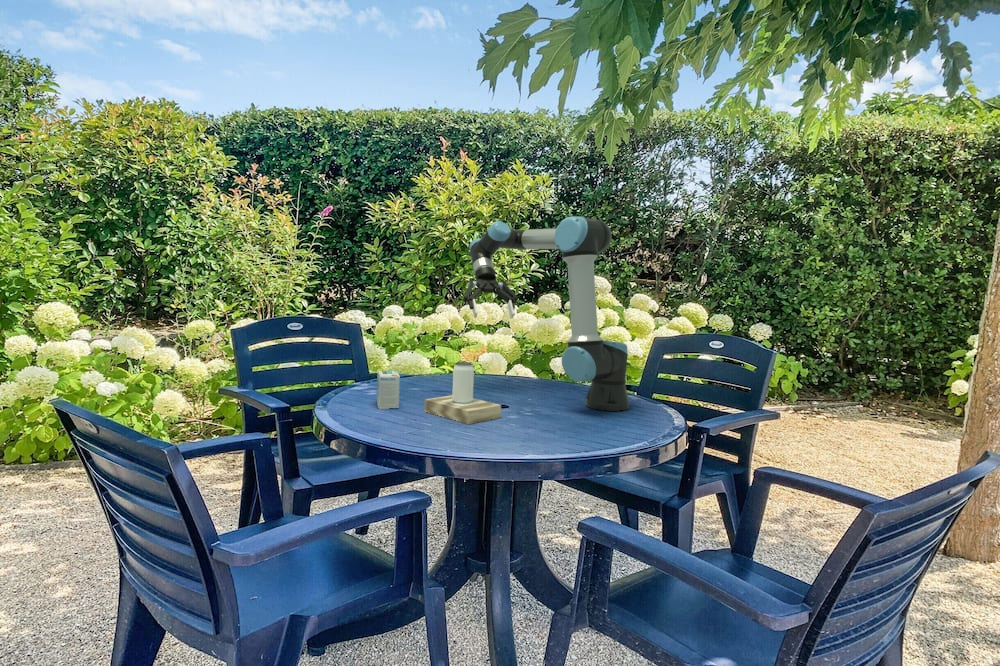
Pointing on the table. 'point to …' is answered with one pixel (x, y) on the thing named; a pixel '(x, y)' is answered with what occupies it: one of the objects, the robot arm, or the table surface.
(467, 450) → the table surface
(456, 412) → the block
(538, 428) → the table surface
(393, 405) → the light bulb box
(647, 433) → the table surface
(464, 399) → the can
